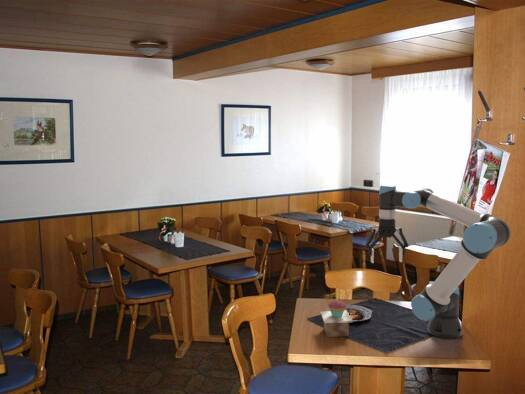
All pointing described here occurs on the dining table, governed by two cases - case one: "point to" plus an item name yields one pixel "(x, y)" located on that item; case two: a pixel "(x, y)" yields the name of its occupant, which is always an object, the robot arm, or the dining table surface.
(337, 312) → the cupcake
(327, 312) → the white box
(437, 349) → the dining table surface
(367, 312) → the food plate
